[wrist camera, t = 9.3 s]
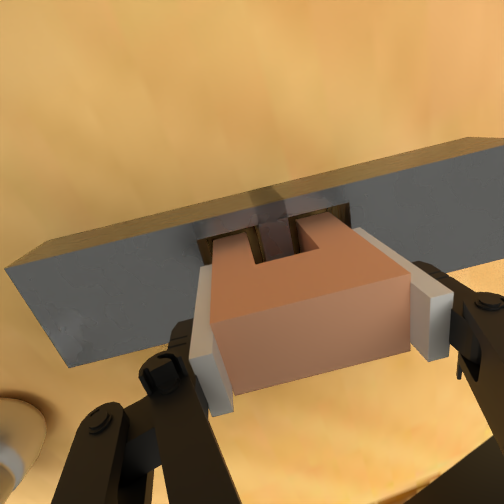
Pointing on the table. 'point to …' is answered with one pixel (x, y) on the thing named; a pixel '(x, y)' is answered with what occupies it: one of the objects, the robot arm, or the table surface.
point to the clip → (306, 306)
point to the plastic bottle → (18, 442)
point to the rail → (270, 240)
